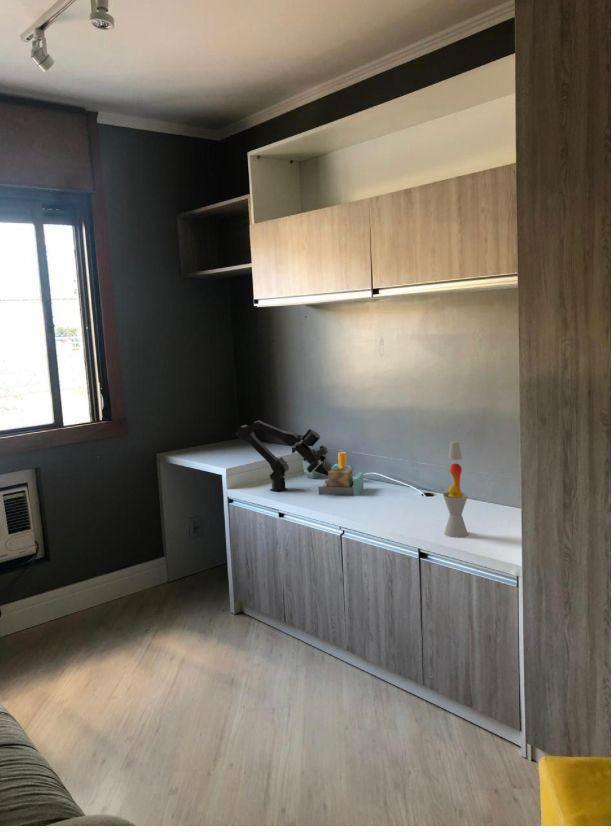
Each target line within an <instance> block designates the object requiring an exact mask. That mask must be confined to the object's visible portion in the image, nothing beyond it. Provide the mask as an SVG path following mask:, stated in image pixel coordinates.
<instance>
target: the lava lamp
mask: <svg viewBox="0 0 612 834" xmlns="http://www.w3.org/2000/svg"><path fill="white" fill-rule="evenodd" d="M447 459H449V460H453V461H455V460H459V461H460V460H462V453H461V447H460V442H459V441H451V442H450V443H449V451H448V457H447ZM449 472H450V474H451V476H452V478H453V483H454V484H452V485H449V487H448V492H445V493H443V494H442V496H443V499H444V501H445V502H444V503H445V504H446V507H447V510H448V513H449V515H448V516H449V517H448V519H447V523H446V526H445V530H444V533H443V534H444V535H445V537H446V536H447V537H450V538H464V537H466V536H468V535H469V534H468V530H467V527H466V524H465V521H464V518H463V515H462V514H463V511H464V509H465V506H466V502H467V500H468V497H469V496H468V495H469V494H468V493H466V492H462V491H461V484H460V483H461V473H462V466H461V465H460V464H459V463H457V462H456V463H452V464H451V465H450V466H449Z"/></svg>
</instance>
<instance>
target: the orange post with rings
mask: <svg viewBox="0 0 612 834" xmlns="http://www.w3.org/2000/svg"><path fill="white" fill-rule="evenodd" d="M337 454H338V455H337V456H338V457H337V459H338V461H337V462H338V463H335V464H334V465H332V467H331V468H330V470H331V469H332V468H352V470H353V471H354V469H355V467H354V464H352V463H349V464H347V452H346V451H340V452H337Z"/></svg>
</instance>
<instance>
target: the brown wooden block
mask: <svg viewBox="0 0 612 834" xmlns="http://www.w3.org/2000/svg"><path fill="white" fill-rule="evenodd" d="M331 468H332V467H331ZM331 468H330V470H328V471H329V472H328V476H327V480H328V485H329V486H330V487H349V486H350V485H351V484H352V483H353V479H354V477H353V475H354V474H353V472H354V470H352V469H353V467H351V468H349V467H348V468H337V467H335V468H332V469H331Z"/></svg>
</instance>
